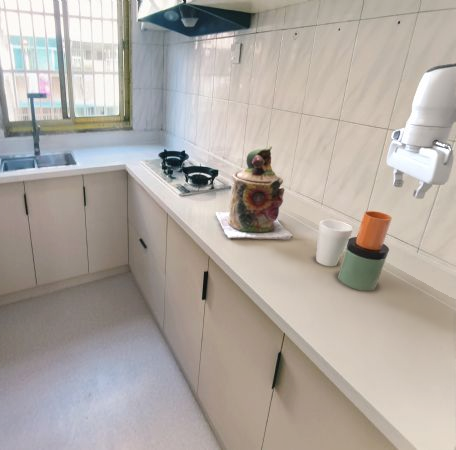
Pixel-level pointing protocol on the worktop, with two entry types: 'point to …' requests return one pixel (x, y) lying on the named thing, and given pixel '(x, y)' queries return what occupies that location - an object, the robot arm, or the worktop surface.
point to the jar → (360, 271)
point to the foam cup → (332, 241)
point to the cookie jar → (255, 201)
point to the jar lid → (367, 250)
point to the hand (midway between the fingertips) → (406, 191)
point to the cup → (373, 230)
